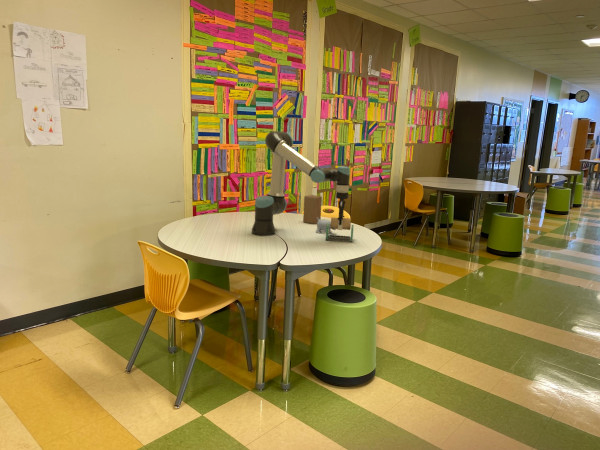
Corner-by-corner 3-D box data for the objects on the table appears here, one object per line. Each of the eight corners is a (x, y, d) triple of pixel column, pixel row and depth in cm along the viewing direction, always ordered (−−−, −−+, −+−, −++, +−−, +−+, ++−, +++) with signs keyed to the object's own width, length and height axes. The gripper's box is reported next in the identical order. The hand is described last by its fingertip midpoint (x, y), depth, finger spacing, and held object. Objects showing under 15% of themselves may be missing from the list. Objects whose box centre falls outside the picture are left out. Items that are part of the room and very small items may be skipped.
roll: (330, 229, 264) (330, 218, 263) (330, 227, 271) (331, 216, 270) (350, 230, 262) (350, 219, 261) (350, 228, 269) (350, 217, 268)
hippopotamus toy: (331, 235, 279) (332, 221, 277) (312, 232, 287) (312, 218, 285) (339, 233, 288) (340, 219, 286) (320, 229, 296) (321, 216, 294)
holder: (325, 240, 264) (326, 226, 262) (326, 236, 274) (327, 223, 272) (352, 242, 262) (353, 228, 260) (352, 238, 272) (353, 224, 270)
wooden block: (320, 222, 322) (322, 196, 318) (314, 224, 313) (315, 197, 309) (309, 220, 327) (310, 194, 323) (302, 222, 319) (303, 195, 315)
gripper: (348, 194, 252) (345, 232, 256) (348, 190, 271) (346, 226, 276) (335, 193, 253) (333, 231, 257) (337, 189, 272) (335, 225, 277)
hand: (340, 228), depth 267 cm, fingers closed on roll, 7 cm apart
